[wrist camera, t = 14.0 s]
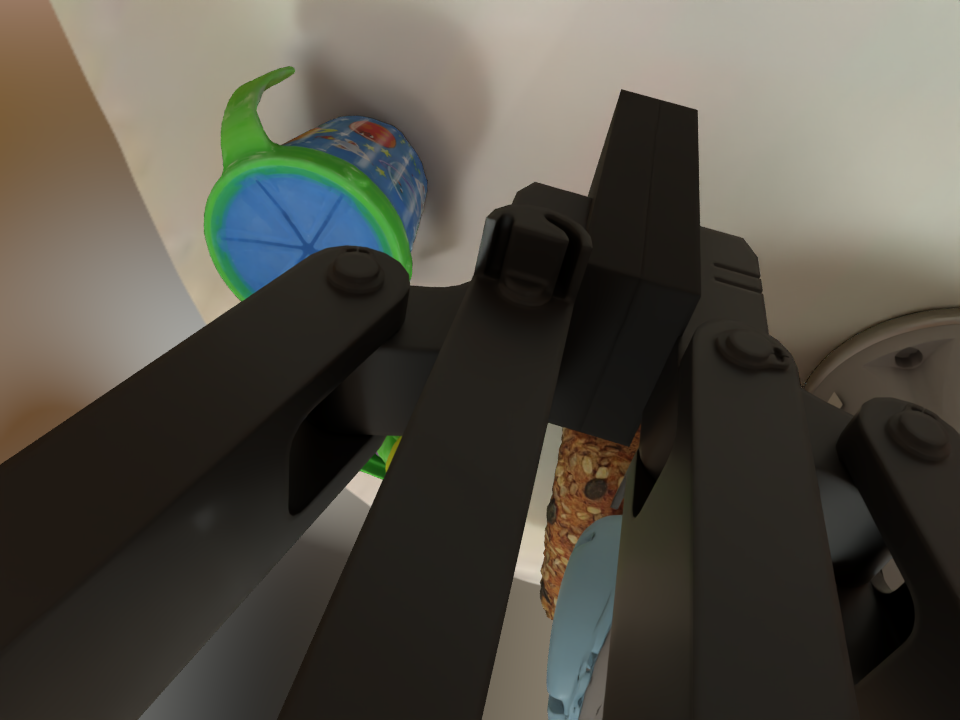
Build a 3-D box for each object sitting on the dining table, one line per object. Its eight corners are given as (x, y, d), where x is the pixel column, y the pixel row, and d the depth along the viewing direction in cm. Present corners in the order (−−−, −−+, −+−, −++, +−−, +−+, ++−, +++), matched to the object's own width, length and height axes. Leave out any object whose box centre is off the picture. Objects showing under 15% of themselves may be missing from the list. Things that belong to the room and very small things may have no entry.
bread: (676, 563, 59) (674, 678, 51) (547, 536, 60) (526, 644, 53) (733, 390, 47) (742, 507, 40) (571, 364, 49) (549, 470, 41)
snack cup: (490, 271, 46) (449, 369, 38) (347, 295, 50) (283, 389, 42) (401, 13, 37) (325, 72, 30) (237, 66, 41) (132, 130, 33)
